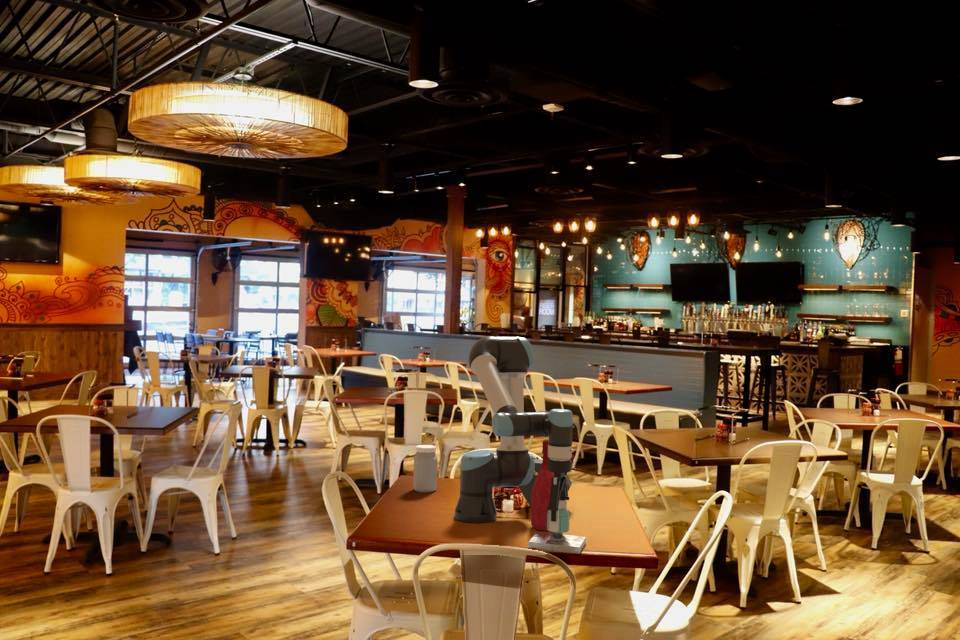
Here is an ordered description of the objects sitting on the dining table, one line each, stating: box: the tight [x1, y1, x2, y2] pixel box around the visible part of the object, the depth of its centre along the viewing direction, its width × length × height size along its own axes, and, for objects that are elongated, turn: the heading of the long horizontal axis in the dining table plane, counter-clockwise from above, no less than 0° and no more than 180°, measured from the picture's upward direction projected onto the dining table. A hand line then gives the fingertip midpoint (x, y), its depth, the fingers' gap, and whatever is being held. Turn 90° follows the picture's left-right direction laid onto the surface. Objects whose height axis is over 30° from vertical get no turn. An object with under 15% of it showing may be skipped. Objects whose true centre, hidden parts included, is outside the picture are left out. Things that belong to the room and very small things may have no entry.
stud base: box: [528, 531, 587, 554], centre depth 249 cm, size 16×12×10 cm
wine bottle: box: [530, 439, 554, 532], centre depth 269 cm, size 10×10×30 cm
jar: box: [412, 444, 438, 493], centre depth 322 cm, size 10×10×18 cm
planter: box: [517, 458, 573, 508], centre depth 298 cm, size 17×8×21 cm
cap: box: [547, 508, 571, 534], centre depth 248 cm, size 7×7×6 cm
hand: (557, 525), depth 249 cm, fingers open, 13 cm apart
